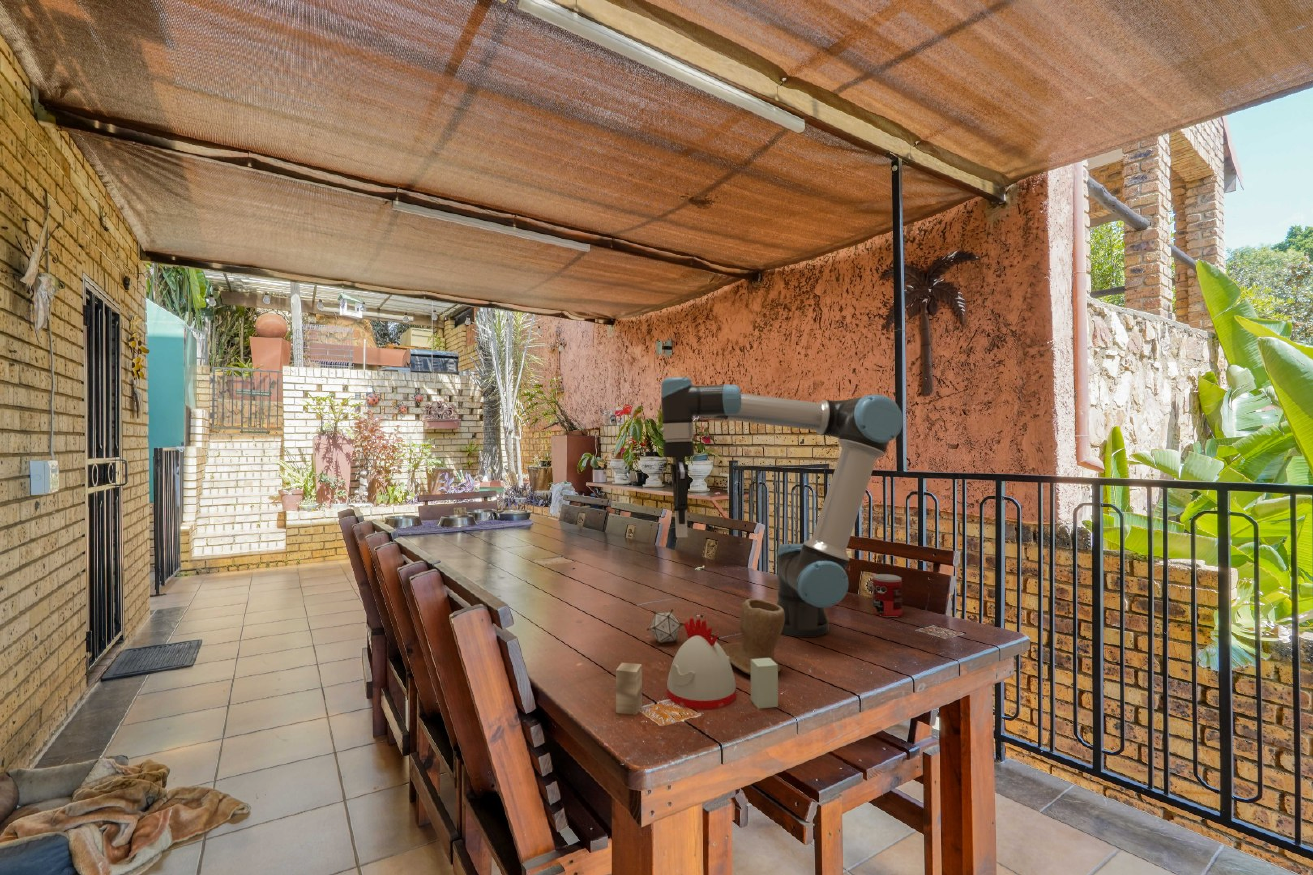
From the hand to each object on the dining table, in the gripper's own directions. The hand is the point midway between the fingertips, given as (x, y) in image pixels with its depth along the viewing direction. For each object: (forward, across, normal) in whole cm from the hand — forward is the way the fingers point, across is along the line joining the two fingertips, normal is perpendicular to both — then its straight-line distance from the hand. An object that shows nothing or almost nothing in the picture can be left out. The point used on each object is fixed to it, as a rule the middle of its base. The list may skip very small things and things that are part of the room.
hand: (681, 536), depth 147 cm
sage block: (+28, +31, +11) cm, 43 cm away
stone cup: (+28, +12, +14) cm, 34 cm away
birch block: (+27, +31, -15) cm, 44 cm away
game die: (+28, -5, -5) cm, 29 cm away
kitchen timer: (+28, +26, 0) cm, 38 cm away
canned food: (+30, -24, +63) cm, 74 cm away
